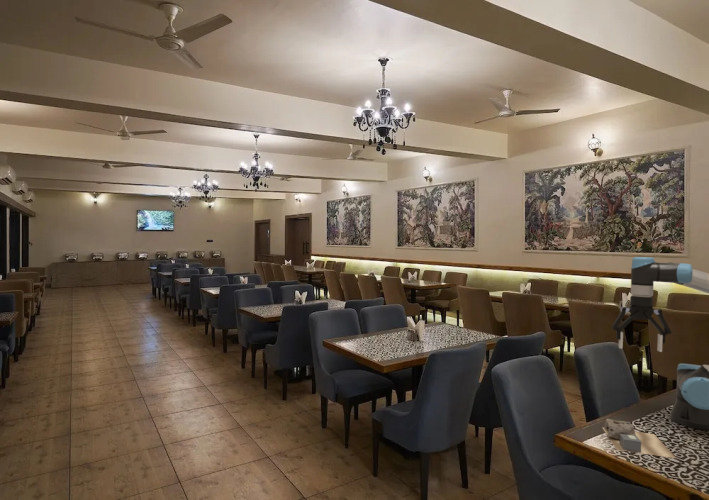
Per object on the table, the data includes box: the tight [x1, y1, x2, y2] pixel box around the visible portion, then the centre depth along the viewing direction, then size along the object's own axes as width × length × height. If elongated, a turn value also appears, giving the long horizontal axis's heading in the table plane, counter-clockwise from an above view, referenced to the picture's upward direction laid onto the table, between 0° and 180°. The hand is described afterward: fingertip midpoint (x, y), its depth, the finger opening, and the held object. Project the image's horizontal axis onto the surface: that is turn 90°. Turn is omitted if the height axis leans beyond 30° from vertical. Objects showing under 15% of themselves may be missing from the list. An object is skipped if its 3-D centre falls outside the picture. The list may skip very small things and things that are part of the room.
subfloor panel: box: [601, 426, 677, 459], centre depth 155 cm, size 17×20×1 cm
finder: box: [619, 434, 641, 453], centre depth 149 cm, size 5×5×4 cm
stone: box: [603, 418, 636, 439], centre depth 160 cm, size 13×6×10 cm
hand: (639, 349), depth 176 cm, fingers open, 13 cm apart
